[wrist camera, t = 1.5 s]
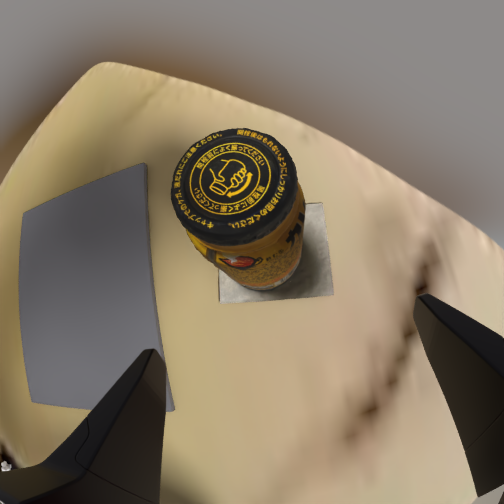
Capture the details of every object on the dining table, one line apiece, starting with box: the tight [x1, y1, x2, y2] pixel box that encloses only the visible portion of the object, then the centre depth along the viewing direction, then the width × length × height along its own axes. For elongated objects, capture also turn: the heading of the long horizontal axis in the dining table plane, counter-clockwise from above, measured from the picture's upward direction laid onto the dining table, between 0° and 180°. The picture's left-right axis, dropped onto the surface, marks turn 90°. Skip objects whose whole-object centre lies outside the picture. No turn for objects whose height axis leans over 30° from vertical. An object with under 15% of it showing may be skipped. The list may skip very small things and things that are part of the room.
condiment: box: [171, 128, 334, 304], centre depth 17 cm, size 7×8×12 cm
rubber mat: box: [19, 163, 175, 412], centre depth 24 cm, size 22×18×1 cm
